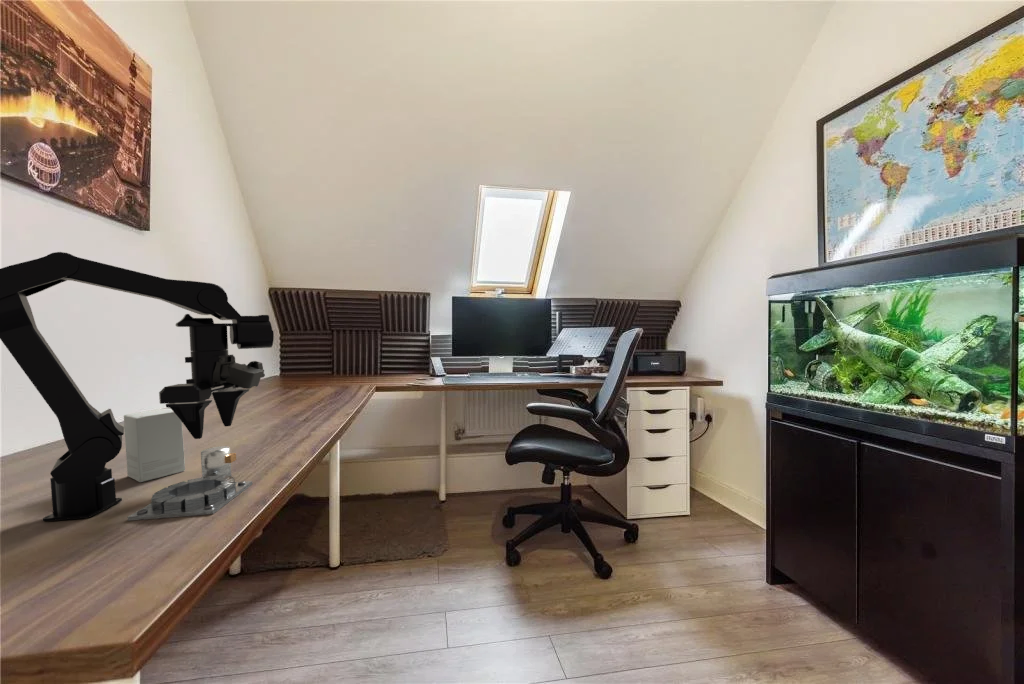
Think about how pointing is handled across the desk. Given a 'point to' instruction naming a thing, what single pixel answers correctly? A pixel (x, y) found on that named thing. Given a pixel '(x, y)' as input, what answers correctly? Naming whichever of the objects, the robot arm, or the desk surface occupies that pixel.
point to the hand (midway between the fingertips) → (213, 432)
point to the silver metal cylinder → (217, 461)
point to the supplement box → (153, 444)
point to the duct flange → (192, 498)
